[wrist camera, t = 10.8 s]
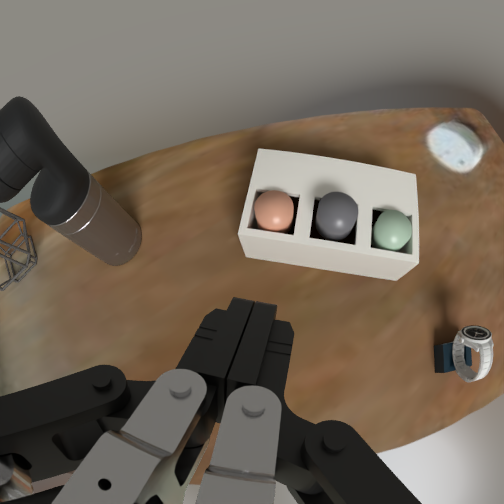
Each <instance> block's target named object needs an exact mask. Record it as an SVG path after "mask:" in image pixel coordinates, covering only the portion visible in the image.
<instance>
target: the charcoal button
mask: <svg viewBox="0 0 504 504" xmlns="http://www.w3.org/2000/svg"><path fill="white" fill-rule="evenodd" d="M357 217H358V206H357V204H356V202H355V201H354V199H353V198H352V197H350V196H349V195H347V194H345V193H343V192H330V193H328V194H326V195H324V196H323V197H322V198H321V200H320V202H319V205H318V210H317V215H316V220H315V225H316V229H317V231H318V232H319V234H320V235H321V236H323V237H324V238H326V239H328V240H331V241H339V240H342V239H344V238H346V237H347V236H348V235H349V234H350V232H351V230H352V228H353V226H354V224H355V222H356V220H357Z"/></svg>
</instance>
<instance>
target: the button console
mask: <svg viewBox="0 0 504 504" xmlns="http://www.w3.org/2000/svg"><path fill="white" fill-rule="evenodd" d="M272 190H277V191H281V192H284V193H285V194H287V195H288V196H294V197H300V198H299V205H298V211H297V218H296V224H295V230H294V235H289V234H283V233H276V232H269V231H263V230H258V229H259V228H258V225H257V220H256V215H255V210H254V206H255V202H256V200H257V198H258V197H259V196H260V195H261V194H263V193H265V192H267V191H272ZM330 192H343V193H345V194H347V195H349V196H350V197H352V198H353V199H354V201H355V202H356V204H357V206H358V217H357V220H356V233H355V245H352V244H346V243H340V242H334V241H327V240H321V239H315V238H309V237H310V230H311V222H312V215H313V207H314V200H321V198H322V197H323V196H324V195H326V194H328V193H330ZM372 209H373V210H378V211H387V210H397V211H400V212H401V213H403V214H404V215H405V216H406V217H407V218H408V219H409V221H410V223H411V226H412V235H411V237H410V239H409V240H408V241H407V243H406V244H405V245H404V246H403V247H402V248H401V249H400V250H399V251H398V252H393V251H387V250H381V249H376V248H371V230H372ZM238 236H239V239H240V242H241V244H242V247H243V250H244V253H245V256H246V257H250V258H256V259H262V260H268V261H274V262H281V263H287V264H293V265H299V266H306V267H312V268H318V269H324V270H331V271H337V272H343V273H350V274H356V275H362V276H369V277H375V278H382V279H388V280H394V281H397V280H398V279H399V278H401V277H402V276H403V275H405V274H406V273H407V272H408V271H410V270H411V269H412V268H414V267H415V266H416V265H417V264H419V219H418V199H417V185H416V175H415V174H411V173H407V172H403V171H398V170H393V169H389V168H384V167H379V166H374V165H369V164H364V163H358V162H353V161H347V160H341V159H335V158H329V157H323V156H316V155H309V154H302V153H294V152H286V151H278V150H269V149H258V153H257V157H256V161H255V165H254V169H253V173H252V177H251V181H250V185H249V189H248V194H247V198H246V202H245V206H244V210H243V214H242V219H241V223H240V227H239V231H238Z"/></svg>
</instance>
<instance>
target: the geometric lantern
mask: <svg viewBox="0 0 504 504" xmlns="http://www.w3.org/2000/svg"><path fill="white" fill-rule="evenodd" d="M0 212H1V213H3V214H5V215H7V216H8V217H10V218H12V219H14V220H15V221H14V222H13V223H12V224H11V225H10V226H9V227H8V228H7V229H6V231H5V232H4V233H3V234H2V235H1V236H0V239H1V238H2V237H3V236H4V235H5V234H6V233H7V232H8V231H9V229H10V228H11V227H12V226H13V225H14V224H15V223H16V222H17V223H18V226H19V229H20V232H21V234H20V235H19V237H18V238H17V239H16V240H15V241H14V243H13V244H12V245H11V244H9V243H6V242H4V241H2V240H0V243H1V244H4V245H6V246H8V247H10V248H9V249H8V250H7V251H5V250H4V249H2V248H1V247H0V249H1V250H2V251H3V252H4V253H5V255H3V254H0V257H2V258H4V259H5V263H6V267H7V270H8V274H9V278H10V279H9V280H8V281H6V282H4V283H2V284H1V285H0V286H2V285H4V284H6V283H7V282H8V283H7V284H6V285H5V286H4V287H3V288H1V287H0V290H1V291H3V290H5V289H6V288H7V287H8V286H9V285H10V284H11V283H12V282H13V281H14V282H20V280H21V279H22V278H23V277H24V276H25V275H26V274H27V273H28V272H29V271H30V270H31V269H32V268H33V267H34V266H35V265H36V264H37V256H36V252H35V249H34V245H33V242H32V238H31V236H28V235H27V230H26V223H25V219H23V218H21V217H19V216H17V215H15V214H13V213H10V212H8V211H6V210H4V209H2V208H0ZM18 221H23V231H24V233H22V231H21V228H20V225H19V222H18ZM21 235H22V236H23V237H24V240H23V241H22V242H21V243H20V244H19V245H18V247H16V246H13V245H14V244H15V243H16V241H17V240H18V239H19V238H20V237H21ZM28 238H30V240H31V244H32V247H33V251H34V254H35V257H34V256H32V255H31V254H30V248H29V242H28ZM24 241H25V243H26V246H27V250H28V251H26V250H23V249H21V248H19V246H20V245H21V244H22V243H23V242H24ZM11 248H13V249H15V250H14V251H13V252H12V253H11V254H9V253H7V252H8V251H9V250H10V249H11ZM16 250H18V251H21V252H23V253H26V254H28V257H27V262H26V264H25V265H24V264H22V263H20V262H18V261H15V260H13V259H11V257H12V254H13V253H14V252H15V251H16ZM6 254H8V255H10V258H9V257H7V256H6ZM31 257H32V258H34V259H36V260H35V262H33V261H30V260H31ZM6 259H7V260H9V261H10V264H11V268H12V272H13V276H14V277H13V278H12V279H11V276H10V272H9V269H8V265H7V261H6ZM12 262H13V263H15V264H18V265H20V266H22V268H21V269H20V271H19V272H18V273H17V274H16V275H15V274H14V270H13V266H12ZM29 263H33V264H34V265H33V266H32V267H31V268H30V269H29V270H28V271H27V272H26V273H25V274H24V275H23V276H22V277H21V278H20V279H19V280H16V278H17V277H18V276H19V275H20V274H21V273H22V272H23V271H24V270H25V269H26V268H27V267H28V264H29Z"/></svg>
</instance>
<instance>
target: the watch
mask: <svg viewBox="0 0 504 504" xmlns="http://www.w3.org/2000/svg"><path fill="white" fill-rule="evenodd" d="M491 336H492V333H491V332H490V331H489V330H488V329H486V328H484V327H481V326H466V327H464V328H462V330H461V331H458V333H457V334H456V336H455V339H454V342H451V343H446V344H441V345H436V346H434V358H435V373H446V372H450V371H454V370H455V371H456V372H457V374H458V375H459V376H460V377H461V378H462V379H463V380H464V381H466V382H472V381H475V380H478V379H481V378H484V377H485V376H486V375H487V374H488V372H489V370H490V368H491V365H492V361H493V359H492V358H493V341H492V338H491ZM471 348H473V349H474V350H475V351H477V352H478V351H479V353H480V365H479V369H478V373H476V372H474V371H473V370H472V369H471V368H470V367H469V366H472V358H471ZM486 355H487V356H486Z"/></svg>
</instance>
